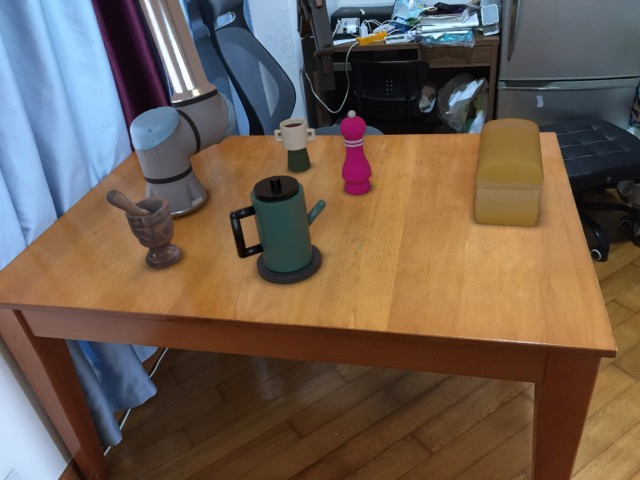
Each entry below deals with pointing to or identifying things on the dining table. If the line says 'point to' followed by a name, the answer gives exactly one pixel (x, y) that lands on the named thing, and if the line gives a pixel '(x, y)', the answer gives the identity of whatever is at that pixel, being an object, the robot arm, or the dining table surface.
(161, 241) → the mortar and pestle
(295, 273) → the kettle base
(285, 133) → the character mug
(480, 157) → the bread
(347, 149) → the pepper mill
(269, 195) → the kettle
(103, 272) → the dining table surface
